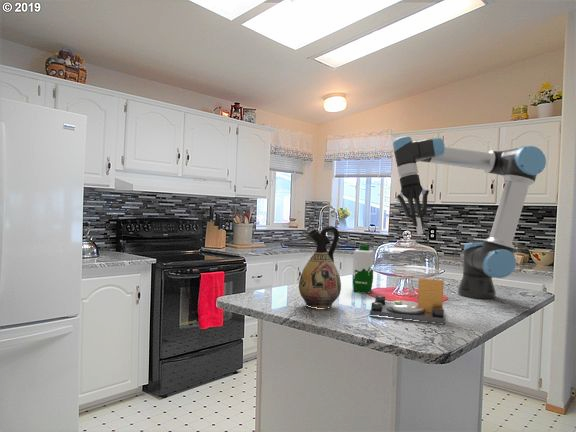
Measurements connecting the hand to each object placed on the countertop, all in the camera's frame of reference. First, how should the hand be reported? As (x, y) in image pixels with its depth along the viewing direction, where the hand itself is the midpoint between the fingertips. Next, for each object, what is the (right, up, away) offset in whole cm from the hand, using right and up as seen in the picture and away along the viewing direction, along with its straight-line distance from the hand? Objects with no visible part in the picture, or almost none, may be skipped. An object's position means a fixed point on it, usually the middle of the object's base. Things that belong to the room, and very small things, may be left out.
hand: (420, 234), depth 172 cm
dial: (-8, -25, -21) cm, 34 cm away
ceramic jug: (-40, -27, -11) cm, 49 cm away
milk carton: (-19, -26, +22) cm, 39 cm away
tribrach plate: (-10, -27, -18) cm, 35 cm away
